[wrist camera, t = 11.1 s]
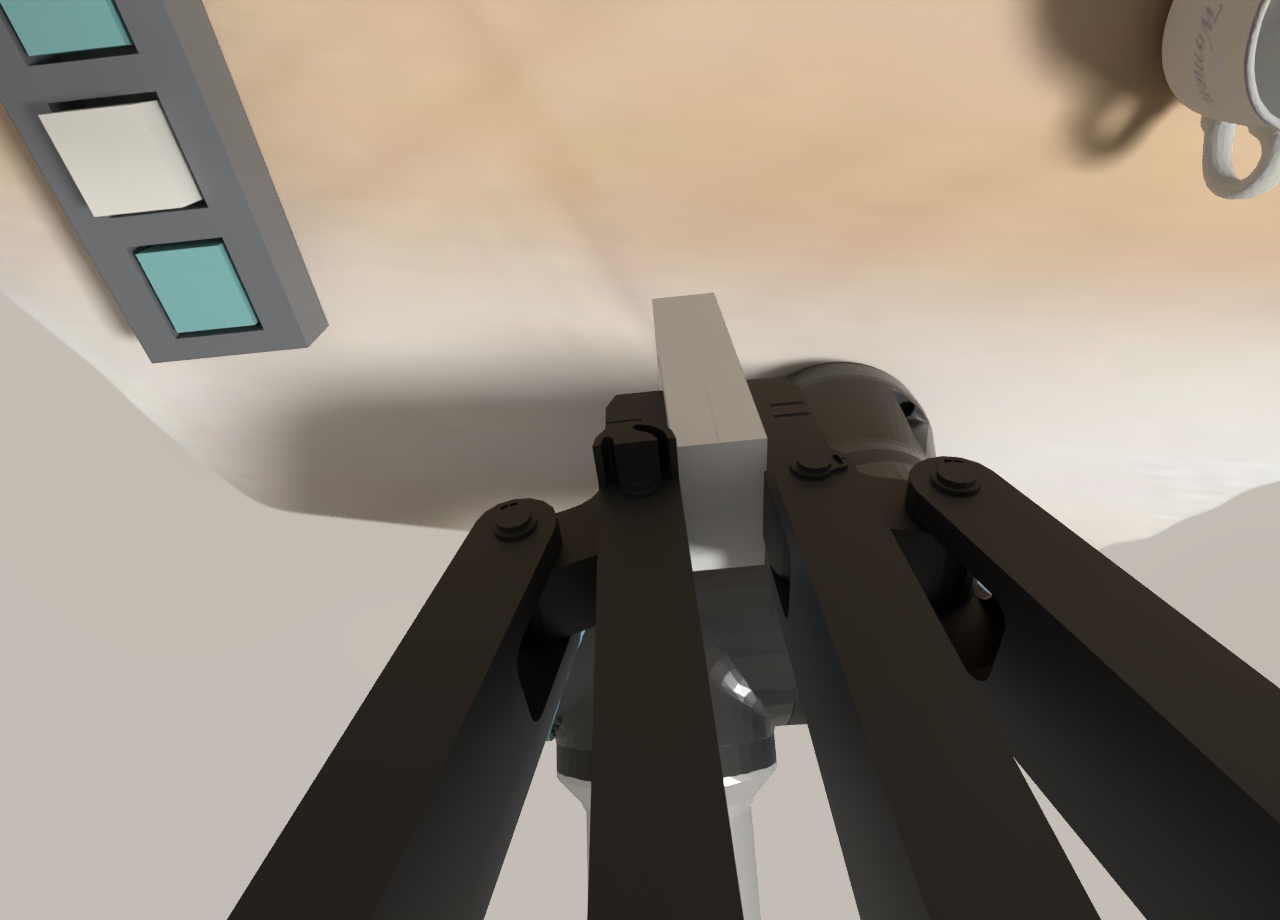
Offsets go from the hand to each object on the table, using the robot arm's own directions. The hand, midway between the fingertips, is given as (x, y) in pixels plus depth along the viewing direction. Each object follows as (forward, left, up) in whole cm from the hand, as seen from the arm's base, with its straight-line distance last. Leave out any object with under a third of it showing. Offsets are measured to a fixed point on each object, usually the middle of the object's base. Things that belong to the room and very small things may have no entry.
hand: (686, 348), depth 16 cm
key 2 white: (+3, +27, -24) cm, 36 cm away
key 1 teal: (-4, +27, -25) cm, 37 cm away
